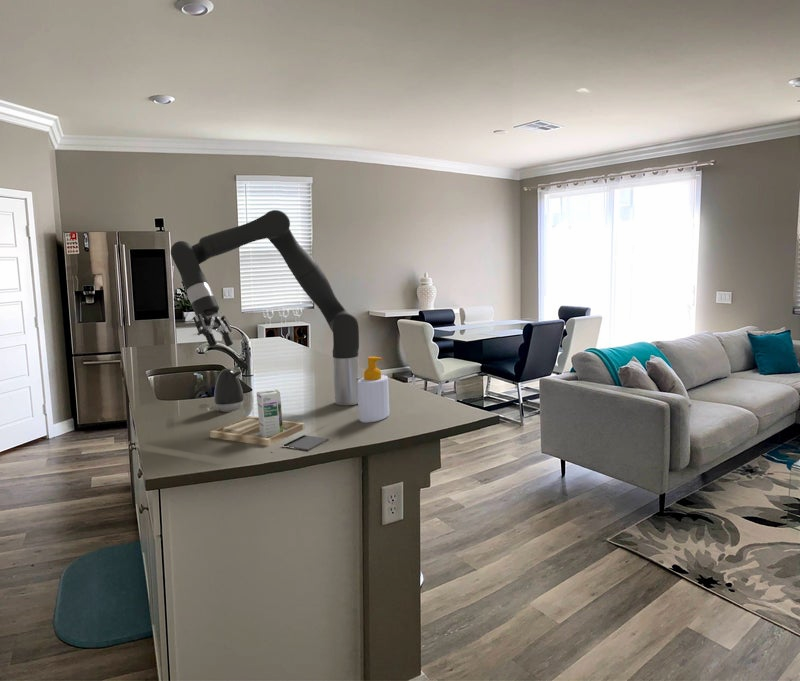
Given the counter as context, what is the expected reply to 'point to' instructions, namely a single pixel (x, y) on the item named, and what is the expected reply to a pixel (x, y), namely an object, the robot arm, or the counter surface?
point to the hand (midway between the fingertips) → (221, 345)
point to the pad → (306, 442)
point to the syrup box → (269, 413)
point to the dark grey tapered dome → (228, 391)
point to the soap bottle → (373, 393)
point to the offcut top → (241, 426)
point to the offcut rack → (248, 437)
